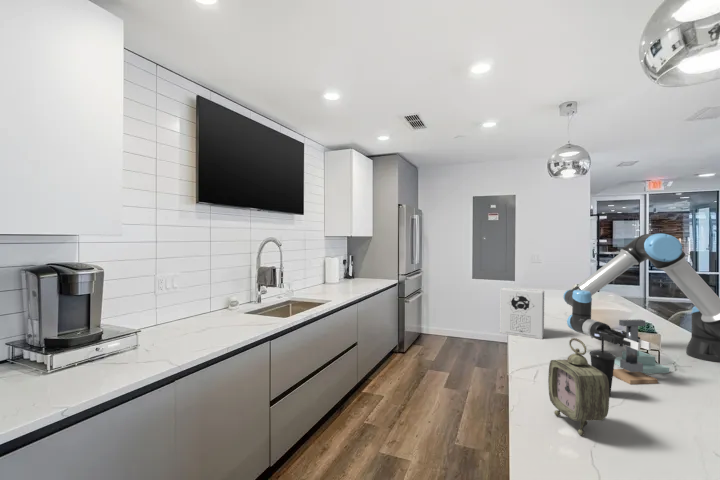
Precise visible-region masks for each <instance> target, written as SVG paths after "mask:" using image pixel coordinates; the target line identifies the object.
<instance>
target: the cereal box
mask: <svg viewBox="0 0 720 480" xmlns="http://www.w3.org/2000/svg"><path fill="white" fill-rule="evenodd" d="M499 302H500V303H499V334H503V335H509V336H510V335H511V336H519V337H524V338H533V339H538V340H543V339H544V336H545V290H543V289H542V290H541V289H528V288H514V287H502V288H500V289H499Z"/></svg>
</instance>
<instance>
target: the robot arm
mask: <svg viewBox="0 0 720 480" xmlns="http://www.w3.org/2000/svg"><path fill="white" fill-rule="evenodd" d="M619 251H620V252H619V254H617V255H616V256H615V257H613V258H612V259H610V260H609V261H608V262H607V263H605V264H603V266H600V268H599V269H597V270H596V271H595V272H593V273H592V274H591V275H589V276H588V277H586V278H585V279H584V280H583V281H582V282H580V283H579V284H578V285H576V286H575V287H573V288H572V289H568V290H566V291H565V292H564V293H563V296H562V297H563V300H564V302H566V304H567V305H569V306H571V307H572V313H571V315H569V316H568V318H566V319H567V320H566V324H567V326H568V327H569V329H571V330H573V331H575V332H576V333H580V334H583V335H585V336H587V337H588V336H589V337H590V338H591V339H596V340H598V341H600V342H602V336H604V342H607V343H610V344H613V345H617V344H618V346H619V347H623V346H625V347H626V346H627V347H630V348H633V349H636V350H638V351H641V348H642V349H645V350H646V351H647V350H648V351H651V347H652V345H651V342H648V341H646V340H643V339H641V337H639V336H638V342H635V341H632V340H630V339H627V338H626V331H624V330H622V331H619V330H615V329H613V328H611V327H610V325H609V324H608V323H605V322H601V321H600V320H595V319H592V301H593V298H592V297H593V295H594V294H597V292H599V291H600V290H602V289H603V288H605V287H606V286H607V285H608V284H610V283H611V282H613V281H614V280H615V279H616V278H619V276H621V275H623V273H625V272H626V271H628V270H629V269H631V267H633V266H638V265H639V264H641V263H642V262H644V261H647V260H648V261H649V262H650V263H651V265H653V266H654V267H655V268H656V269H657V270H661V271H664V273H666V275H667V276H668V278H670V280H671V281H672V282H673V283H674V284H675V285H676V286H677V287H678V289H679V290H681V293H683V295H685V296H686V298H687V299H688V300H689V301H690V302H691V303H692V304H693V305H694V306H693V307H692V308H691V335H690V336H691V337H690V340H689V342H688V344H687V347H686V348H685V350H686V351H685V353H686V355H687V356H689V357H692V358H696V359H699V360H703V361H709V362H714V363H715V362H717V363H720V297H719V296H718V295H717V293H715V291H714V290H713V289H712V287H710V285H708V284H707V283H706V281H705V280H704V279H703V278H702V277H701V276H700V275H699V273H698V272H697V271H696V270H695V269H694V268H693V267H692V266H691V265H690V264H689V262H688V261H687V260H686V255H687V254H686V253H685V251H684V250H683V245H682V243H681V241H680V240H679V239H678V238H677V237H675V236H673V235H670V234H667V233H645V234H641V235H639V236H638V237H635V238H634V239H633V240H632V241H630V242H629V243H627V244H626V245H625V246H624V247H622V248H621V249H620V250H619Z"/></svg>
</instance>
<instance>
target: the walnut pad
mask: <svg viewBox="0 0 720 480" xmlns="http://www.w3.org/2000/svg"><path fill="white" fill-rule="evenodd" d="M613 378H617V379H618V380H621V381H623V382H624V383H627V384H629V385H649V384H655V385H656V384H659V383H658V382H659V380H658V378H656V377H653V376H651V375H648V374H647V373H642V372H630V371H628V370H625V369H623V368H614V370H613Z"/></svg>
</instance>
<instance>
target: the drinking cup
mask: <svg viewBox="0 0 720 480" xmlns="http://www.w3.org/2000/svg"><path fill="white" fill-rule="evenodd" d="M604 346H605V341H604V336H602V341H601V347H600V348H601V349H600V350H599V349H598V350H592V351H590V352H589V355H590V365H591V366H593V367H595V368H596V369H598V370H600V371H602V372H603V373H604V374H605V375H606V376H607V378H608V382H609V397H610V396H611V395H612V394H611V392H612V386H613V378H614V376H613V370H614V369H615V364H614V363H615V359H616V357H617V356H616V355H615V354H613V353H611V352H609V351H606V350H605V347H604Z"/></svg>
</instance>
